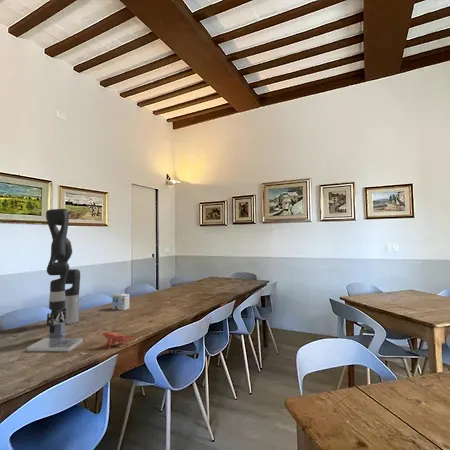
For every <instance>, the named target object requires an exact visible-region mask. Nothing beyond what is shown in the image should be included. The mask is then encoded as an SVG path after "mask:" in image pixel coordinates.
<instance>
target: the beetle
mask: <svg viewBox="0 0 450 450" xmlns="http://www.w3.org/2000/svg"><path fill="white" fill-rule="evenodd" d="M117 322H118V321H115V323H114V325H115V326H117ZM102 335H103V337H104V338H105V339H106V340H107V341H106V343H104V345H105V346H102V347H101V348H102V349H104V348H107V346H108V348H107V349H106V351H108V350H109V349H110V348H111V346H115V344H116V343H118V344H120V345H123V346H124V348H129V345H128V346H126V343H129V342H130V340H133V339H134V338H135V335H131V336H127V335H124V334H117V333H116V332H113V331H107V332H106V331H105V332H103V333H102ZM125 342H126V343H125Z"/></svg>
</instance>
